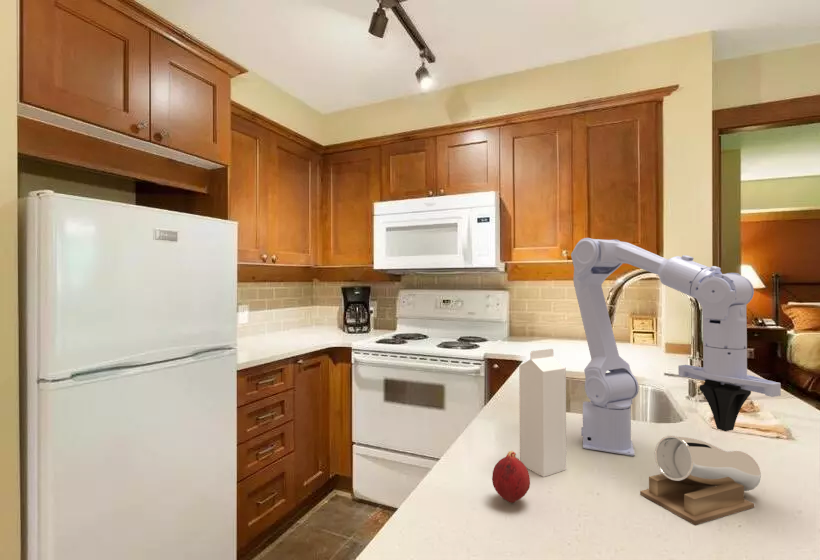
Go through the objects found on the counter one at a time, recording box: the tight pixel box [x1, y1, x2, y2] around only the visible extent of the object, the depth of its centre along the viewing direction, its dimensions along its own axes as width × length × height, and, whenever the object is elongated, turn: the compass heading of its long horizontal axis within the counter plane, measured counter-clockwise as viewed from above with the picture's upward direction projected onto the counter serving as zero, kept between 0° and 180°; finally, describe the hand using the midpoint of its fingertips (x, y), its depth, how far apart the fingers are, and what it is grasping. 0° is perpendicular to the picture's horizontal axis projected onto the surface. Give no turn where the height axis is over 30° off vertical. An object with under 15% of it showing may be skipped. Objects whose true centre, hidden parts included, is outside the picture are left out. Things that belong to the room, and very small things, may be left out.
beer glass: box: [654, 435, 762, 492], centre depth 66 cm, size 7×7×15 cm
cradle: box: [639, 473, 755, 526], centre depth 65 cm, size 9×13×3 cm
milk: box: [518, 348, 567, 478], centre depth 77 cm, size 6×6×22 cm
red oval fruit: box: [491, 450, 531, 504], centre depth 65 cm, size 6×6×8 cm
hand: (725, 429), depth 68 cm, fingers closed
